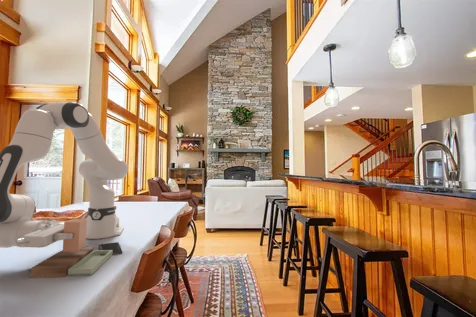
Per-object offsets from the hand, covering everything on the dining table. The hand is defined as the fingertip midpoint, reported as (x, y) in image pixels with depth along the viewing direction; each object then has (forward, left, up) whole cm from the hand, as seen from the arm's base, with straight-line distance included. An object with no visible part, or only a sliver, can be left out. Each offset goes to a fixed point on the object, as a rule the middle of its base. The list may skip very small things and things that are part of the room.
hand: (78, 233), depth 85 cm
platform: (+1, -3, -11) cm, 11 cm away
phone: (-15, +6, -11) cm, 20 cm away
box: (+1, +6, -11) cm, 12 cm away
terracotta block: (0, -1, -5) cm, 6 cm away
